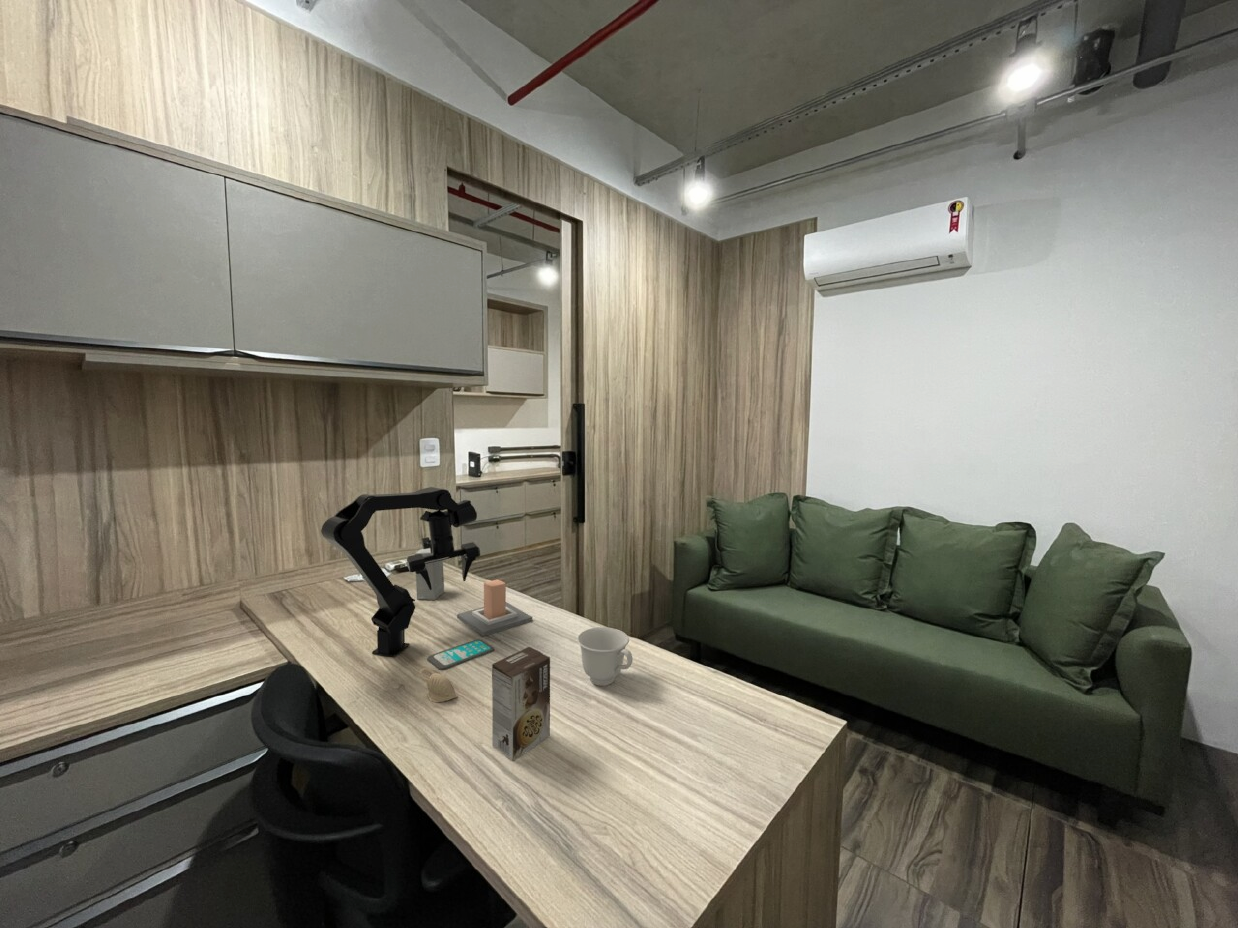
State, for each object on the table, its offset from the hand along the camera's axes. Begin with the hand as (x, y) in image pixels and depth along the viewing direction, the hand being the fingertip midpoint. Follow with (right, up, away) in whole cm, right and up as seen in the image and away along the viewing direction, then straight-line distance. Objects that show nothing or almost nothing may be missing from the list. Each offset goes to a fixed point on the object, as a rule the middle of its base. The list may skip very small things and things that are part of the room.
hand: (447, 584), depth 136 cm
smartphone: (+8, -15, -13) cm, 22 cm away
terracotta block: (+11, -11, +8) cm, 18 cm away
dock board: (+11, -12, +8) cm, 18 cm away
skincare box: (-15, -10, +25) cm, 31 cm away
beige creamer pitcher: (+9, -16, -31) cm, 36 cm away
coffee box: (+30, -18, -45) cm, 57 cm away
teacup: (+45, -17, -24) cm, 54 cm away
